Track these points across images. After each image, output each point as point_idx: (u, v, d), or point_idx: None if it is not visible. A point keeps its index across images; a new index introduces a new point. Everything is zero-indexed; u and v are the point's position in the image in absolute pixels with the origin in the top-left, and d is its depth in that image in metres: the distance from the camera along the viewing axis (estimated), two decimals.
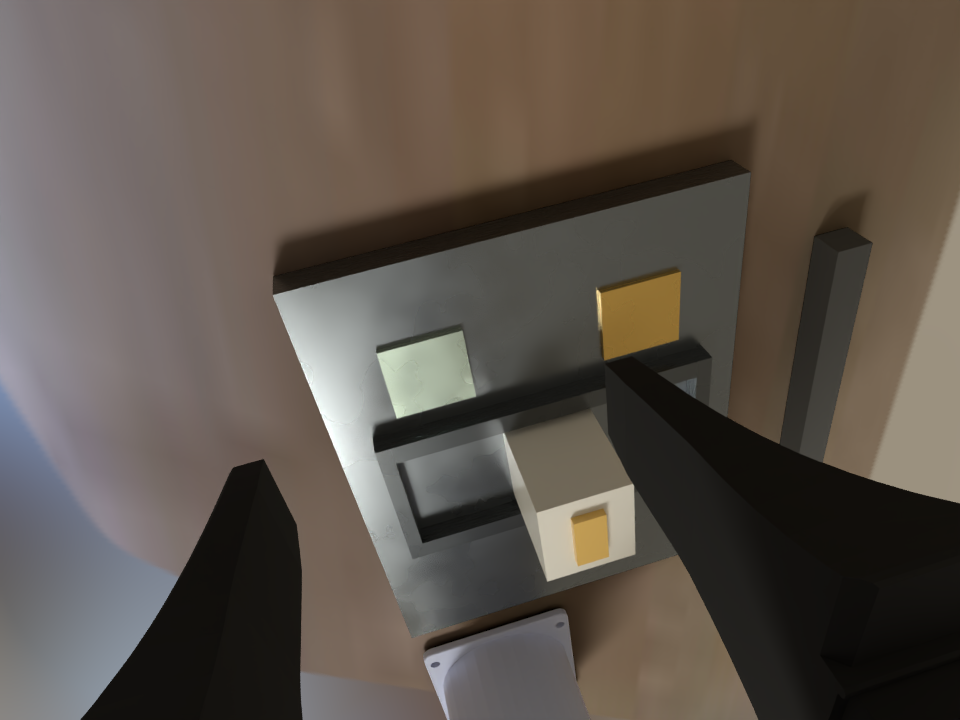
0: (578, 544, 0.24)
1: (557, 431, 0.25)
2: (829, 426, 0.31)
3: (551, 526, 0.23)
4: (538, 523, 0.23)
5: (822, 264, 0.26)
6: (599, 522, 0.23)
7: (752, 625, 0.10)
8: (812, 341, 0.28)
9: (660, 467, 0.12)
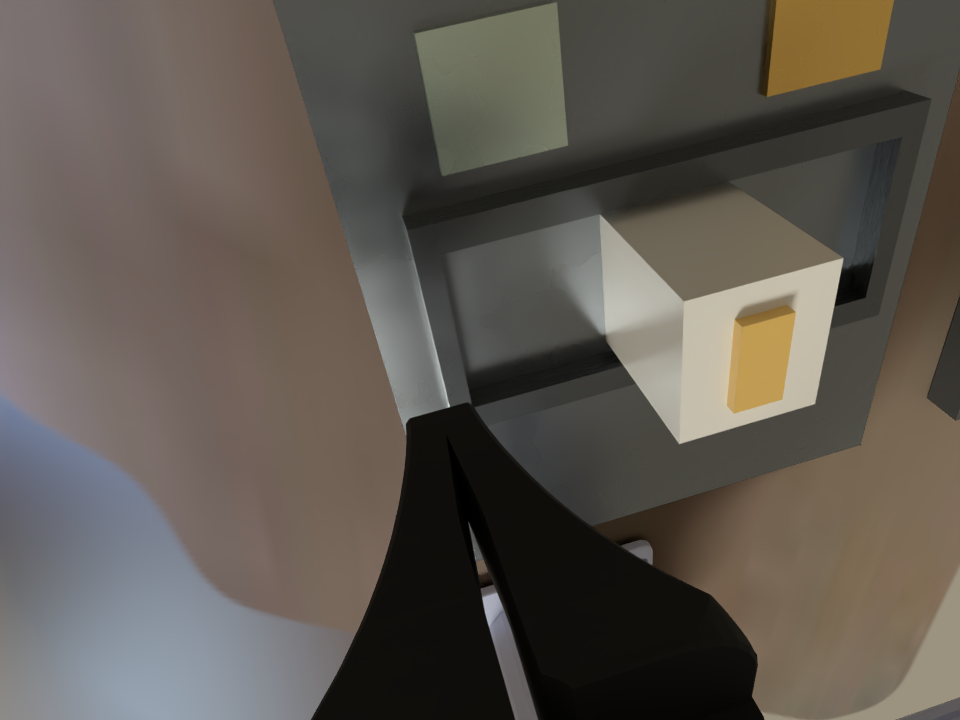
0: (743, 369, 0.14)
1: (691, 212, 0.16)
2: None
3: (702, 333, 0.14)
4: (683, 325, 0.14)
5: None
6: (782, 327, 0.14)
7: (535, 696, 0.10)
8: None
9: (477, 521, 0.12)
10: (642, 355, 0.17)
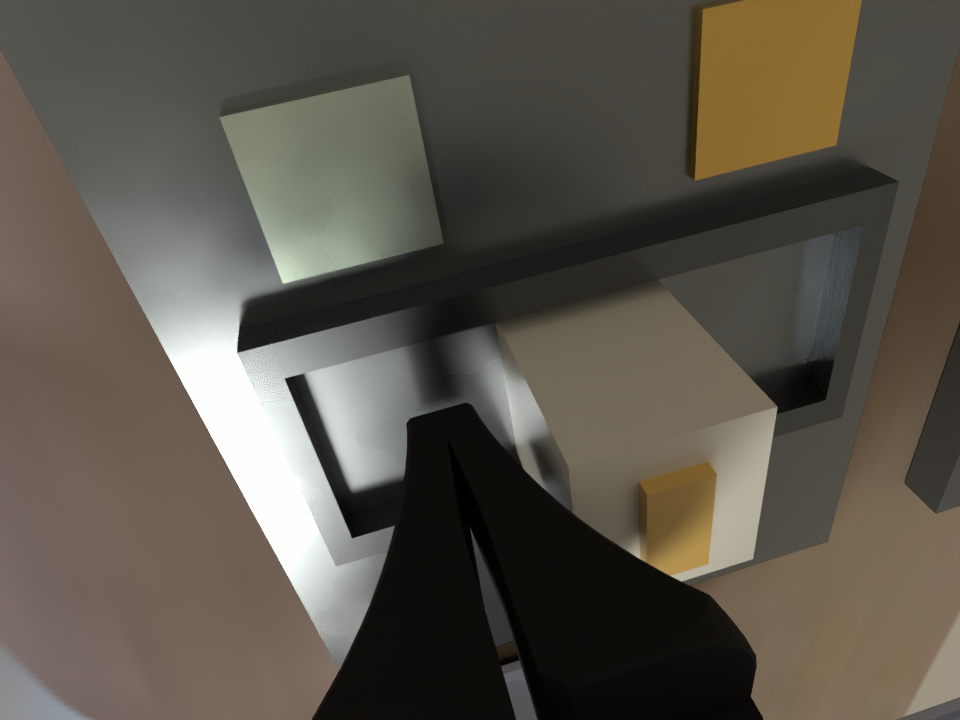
0: (653, 538, 0.11)
1: (602, 320, 0.13)
2: None
3: (598, 499, 0.11)
4: (571, 492, 0.11)
5: None
6: (700, 491, 0.11)
7: (534, 696, 0.10)
8: None
9: (476, 522, 0.12)
10: None
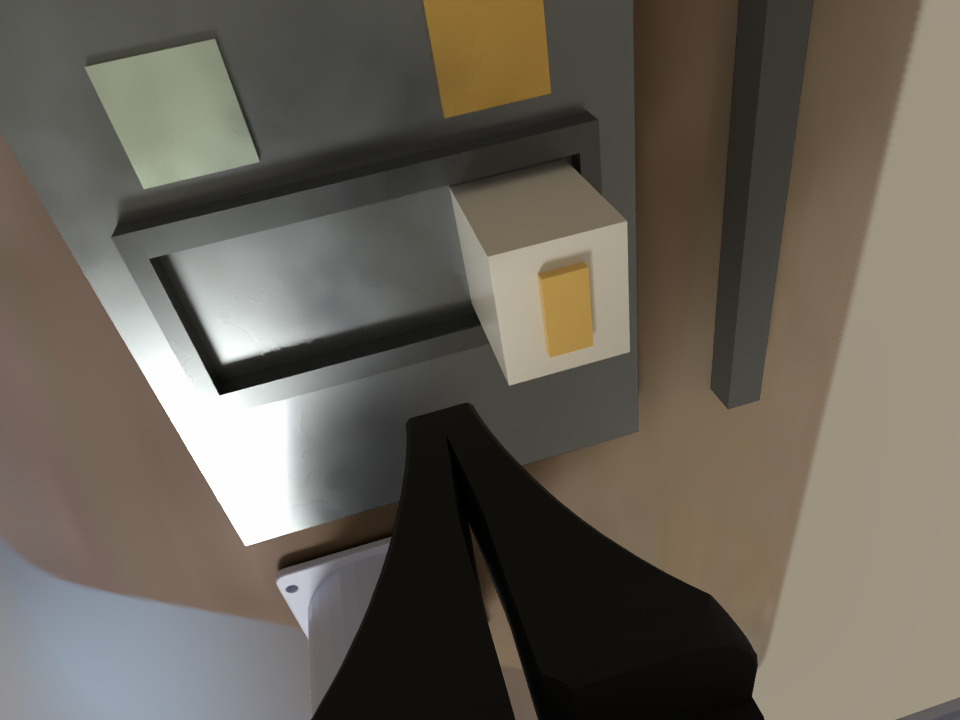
0: (550, 317, 0.17)
1: (523, 185, 0.19)
2: (776, 262, 0.24)
3: (510, 285, 0.16)
4: (491, 278, 0.16)
5: None
6: (578, 280, 0.16)
7: (535, 696, 0.10)
8: (746, 125, 0.21)
9: (477, 522, 0.12)
10: (484, 310, 0.19)
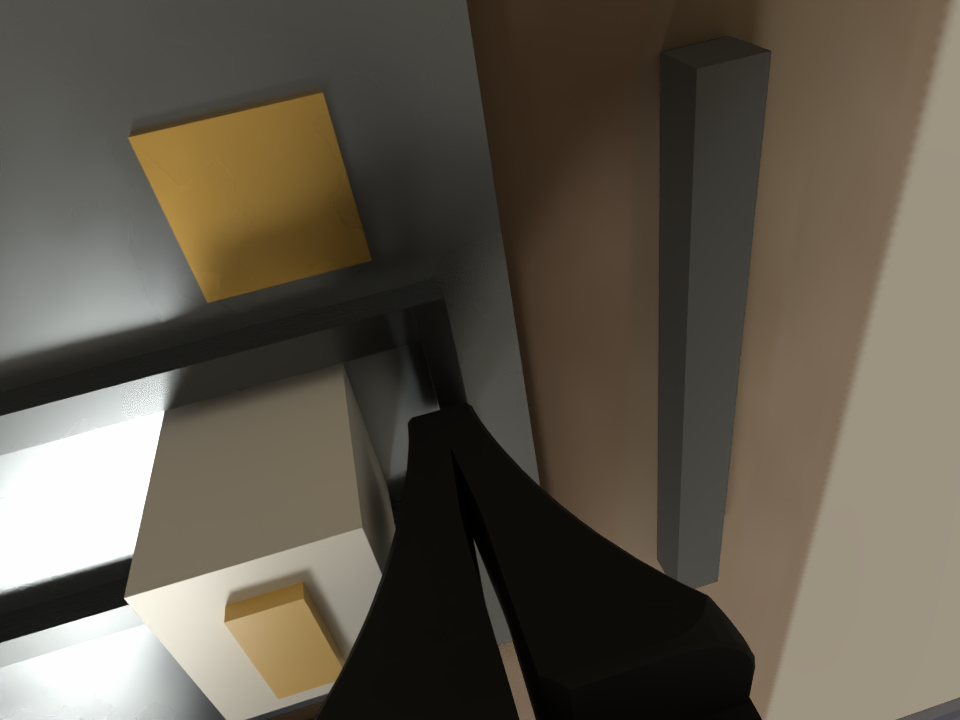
0: (259, 659, 0.11)
1: (261, 412, 0.12)
2: (729, 436, 0.17)
3: (182, 624, 0.10)
4: (145, 619, 0.10)
5: (676, 109, 0.13)
6: (292, 614, 0.10)
7: (533, 697, 0.10)
8: (678, 277, 0.15)
9: (475, 522, 0.12)
10: None
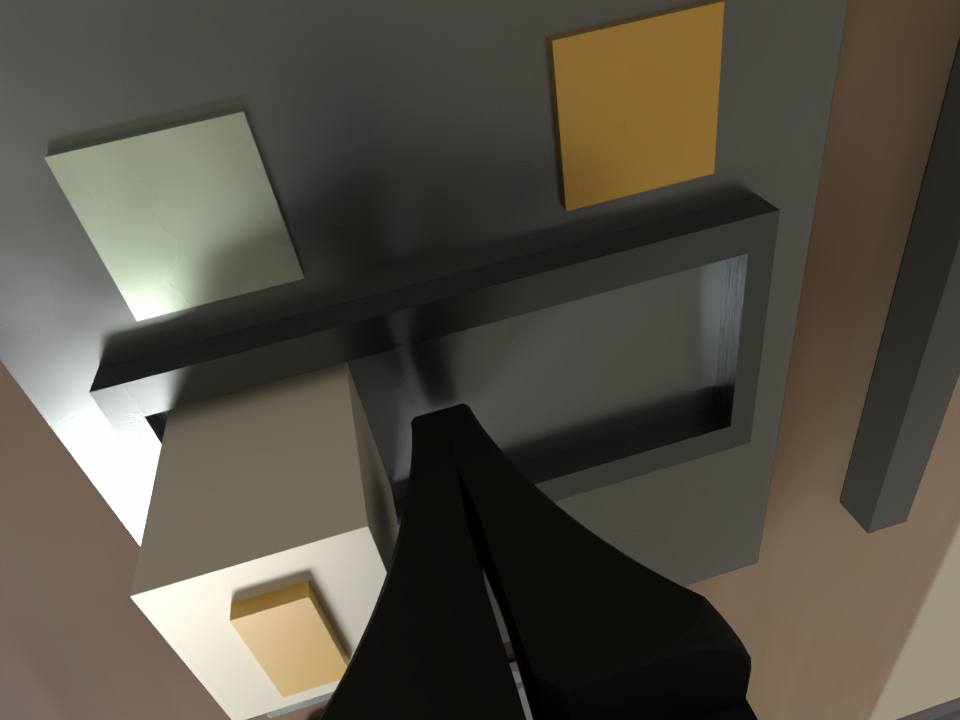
0: (264, 658, 0.11)
1: (265, 411, 0.12)
2: (959, 368, 0.18)
3: (188, 622, 0.10)
4: (151, 617, 0.10)
5: None
6: (297, 613, 0.10)
7: (530, 698, 0.10)
8: (951, 203, 0.15)
9: (473, 523, 0.12)
10: None
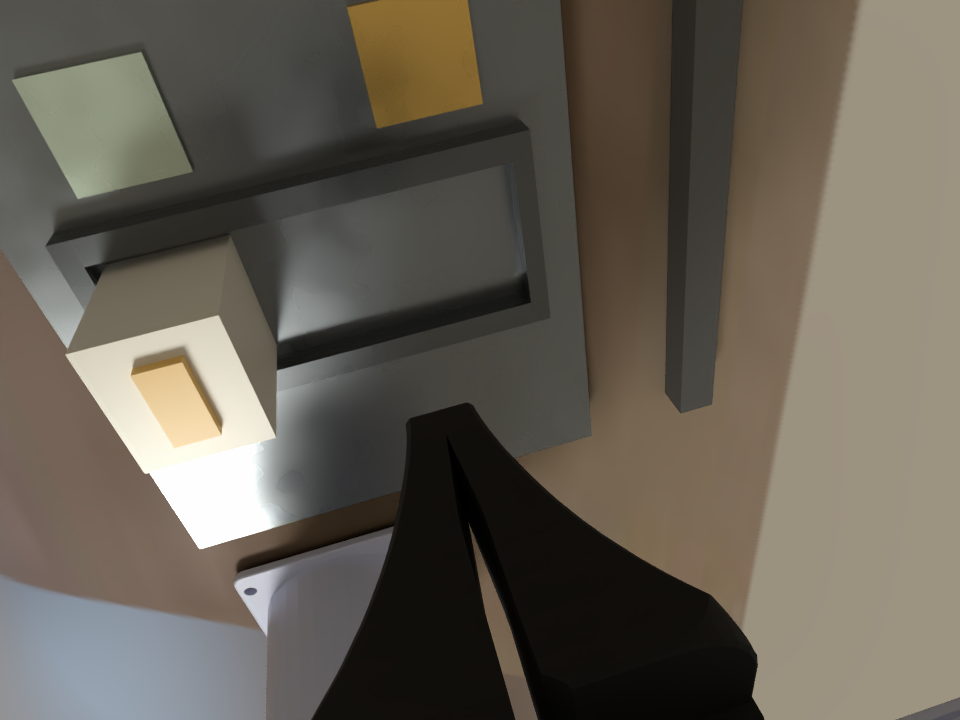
0: (157, 410, 0.16)
1: (169, 265, 0.18)
2: (720, 268, 0.24)
3: (105, 380, 0.16)
4: (80, 374, 0.16)
5: (683, 8, 0.19)
6: (175, 375, 0.16)
7: (535, 696, 0.10)
8: (683, 134, 0.21)
9: (477, 521, 0.12)
10: None
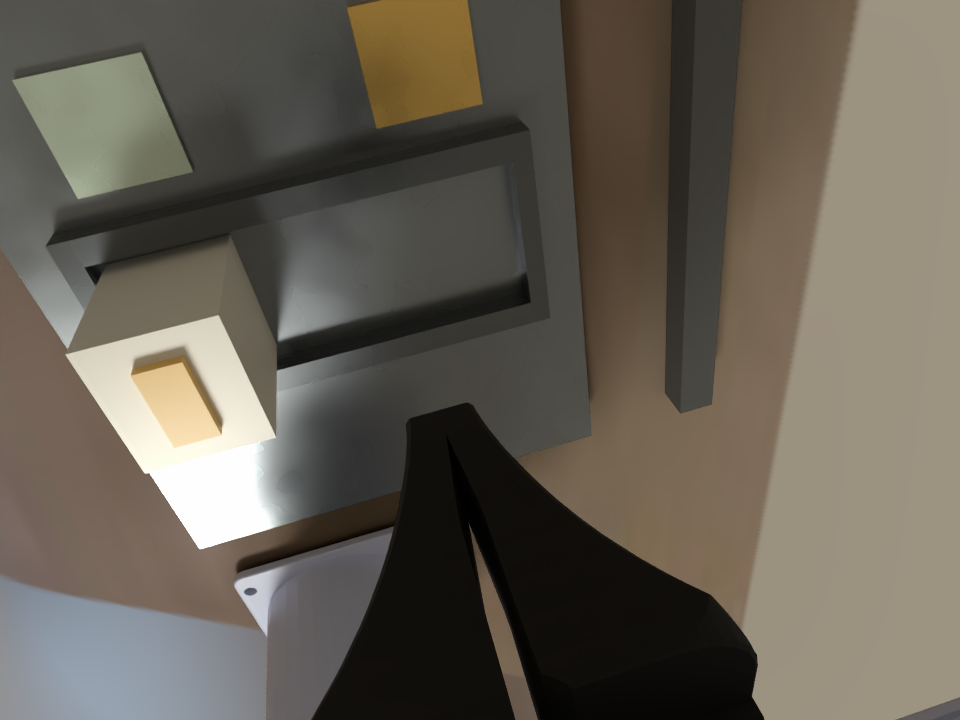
0: (157, 410, 0.16)
1: (169, 265, 0.18)
2: (720, 268, 0.24)
3: (105, 380, 0.16)
4: (80, 374, 0.16)
5: (683, 8, 0.19)
6: (175, 375, 0.16)
7: (535, 696, 0.10)
8: (683, 134, 0.21)
9: (477, 521, 0.12)
10: None
